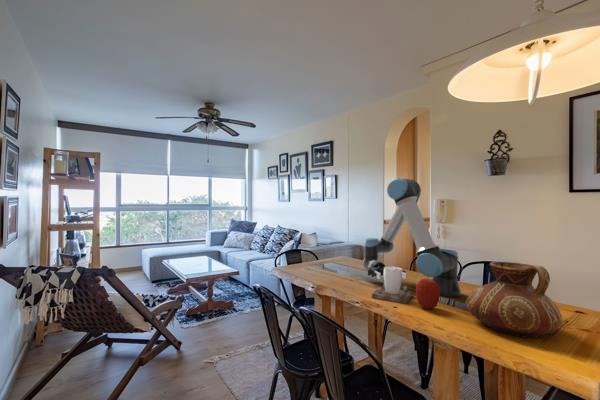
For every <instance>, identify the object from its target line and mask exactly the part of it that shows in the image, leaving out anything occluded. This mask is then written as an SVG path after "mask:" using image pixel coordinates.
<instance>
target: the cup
mask: <svg viewBox="0 0 600 400" xmlns="http://www.w3.org/2000/svg"><path fill="white" fill-rule="evenodd" d="M385 266H386V265H385ZM402 270H403V268H401V267H399V266H391V265H389V266H388V265H387V266H386V267H384V273H383V282H384V284H385V292H386V293H389V294H399V292H400V290H401V285H402V279H403V278H402Z"/></svg>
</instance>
